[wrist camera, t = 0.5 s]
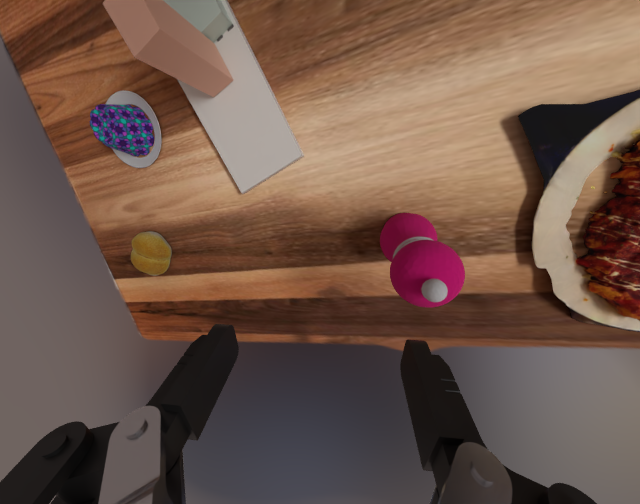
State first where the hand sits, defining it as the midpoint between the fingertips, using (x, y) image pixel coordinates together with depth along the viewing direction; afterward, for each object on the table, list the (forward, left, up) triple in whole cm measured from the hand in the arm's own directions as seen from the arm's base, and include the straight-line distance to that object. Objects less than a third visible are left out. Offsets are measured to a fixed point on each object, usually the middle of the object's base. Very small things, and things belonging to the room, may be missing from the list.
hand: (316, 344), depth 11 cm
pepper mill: (-1, +7, -28) cm, 29 cm away
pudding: (-5, -42, -28) cm, 51 cm away
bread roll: (+17, -38, -28) cm, 50 cm away
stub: (-16, -26, -26) cm, 40 cm away
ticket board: (-16, -26, -28) cm, 41 cm away
